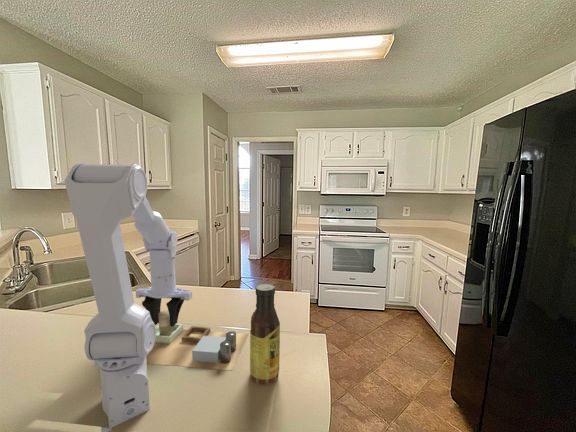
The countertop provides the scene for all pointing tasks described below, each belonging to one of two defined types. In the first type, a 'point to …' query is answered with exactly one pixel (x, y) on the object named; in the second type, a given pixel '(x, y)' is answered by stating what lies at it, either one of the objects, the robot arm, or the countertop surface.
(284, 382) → the countertop surface
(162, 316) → the beech dowel
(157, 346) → the bench board
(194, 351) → the slate block
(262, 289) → the sauce bottle
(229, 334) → the bench dogs
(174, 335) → the sage tray
